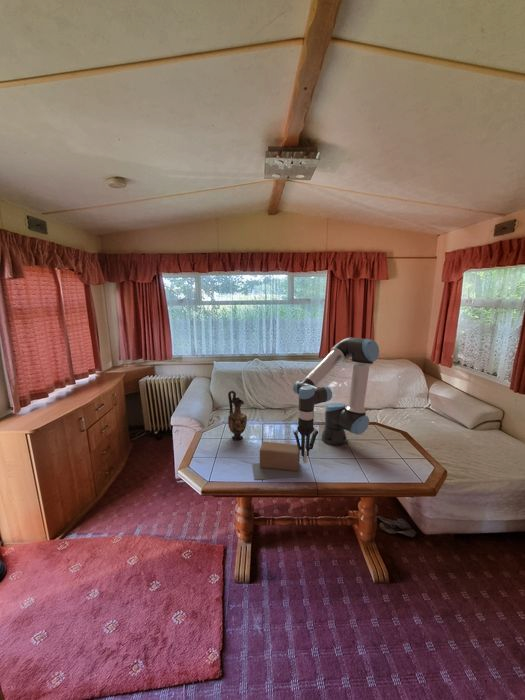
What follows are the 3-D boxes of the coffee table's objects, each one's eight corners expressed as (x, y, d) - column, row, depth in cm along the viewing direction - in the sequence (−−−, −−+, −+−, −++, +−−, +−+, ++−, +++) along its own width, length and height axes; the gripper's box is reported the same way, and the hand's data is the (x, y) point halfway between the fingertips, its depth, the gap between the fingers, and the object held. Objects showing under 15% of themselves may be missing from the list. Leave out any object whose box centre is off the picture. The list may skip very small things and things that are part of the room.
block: (298, 453, 143) (259, 449, 147) (298, 472, 145) (259, 468, 148) (300, 444, 153) (262, 440, 156) (299, 461, 155) (262, 457, 158)
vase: (239, 444, 174) (239, 396, 169) (223, 439, 181) (222, 392, 176) (250, 436, 184) (250, 391, 179) (234, 432, 190) (234, 388, 186)
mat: (297, 461, 155) (297, 461, 155) (303, 477, 141) (303, 476, 141) (252, 464, 153) (252, 463, 153) (254, 479, 139) (254, 479, 139)
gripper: (316, 414, 148) (314, 457, 152) (291, 415, 147) (290, 458, 150) (320, 420, 141) (319, 465, 144) (295, 421, 140) (294, 466, 143)
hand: (304, 461), depth 147 cm, fingers closed
